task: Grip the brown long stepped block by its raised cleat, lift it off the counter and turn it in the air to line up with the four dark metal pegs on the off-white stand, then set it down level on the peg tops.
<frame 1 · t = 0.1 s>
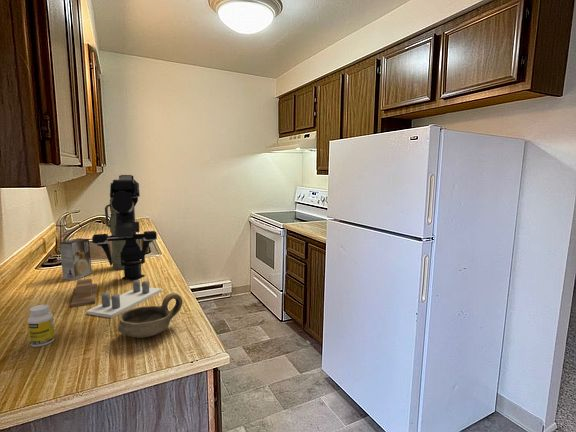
hand: (127, 263, 106), 15 cm above the counter, tool pointing down, fingers open, 9 cm apart
supplement bottle: (42, 342, 87), on the counter
peg stand: (127, 301, 114), on the counter
thermos: (122, 267, 154), on the counter
coffee box: (77, 276, 140), on the counter
brown long stepped block: (85, 296, 119), on the counter
bowl: (152, 332, 93), on the counter
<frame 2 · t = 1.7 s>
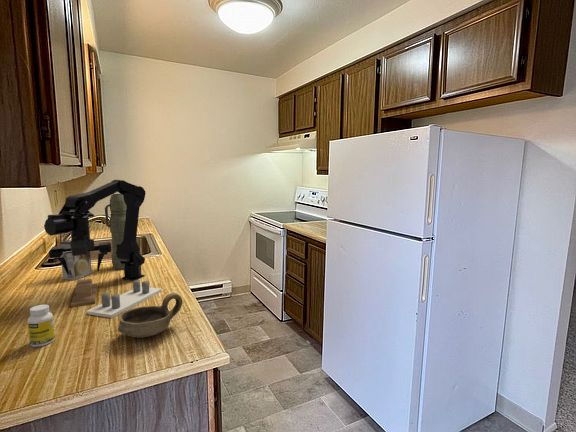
hand: (83, 272, 118), 9 cm above the counter, tool pointing down, fingers open, 9 cm apart
nothing on the counter moved.
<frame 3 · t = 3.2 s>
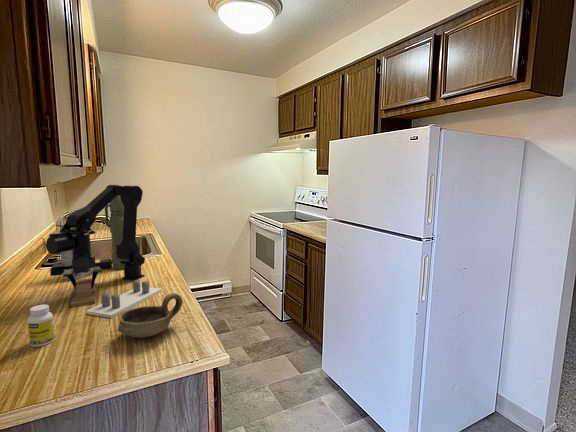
hand: (84, 289, 119), 2 cm above the counter, tool pointing down, fingers closed on brown long stepped block, 4 cm apart
brown long stepped block: (85, 296, 119), on the counter, touching gripper
everything else where it was.
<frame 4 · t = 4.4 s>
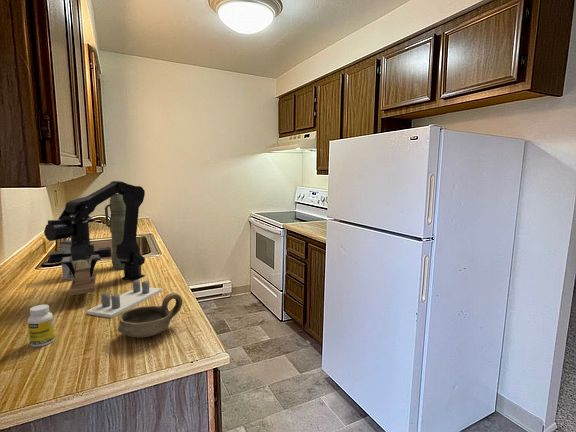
hand: (83, 277, 118), 7 cm above the counter, tool pointing down, fingers closed on brown long stepped block, 4 cm apart
brown long stepped block: (84, 284, 118), point 4 cm above the counter, touching gripper
everything else where it was.
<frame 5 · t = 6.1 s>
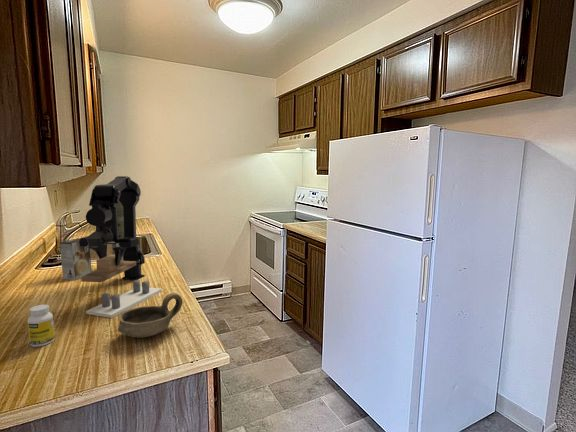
hand: (110, 265, 114), 13 cm above the counter, tool pointing down, fingers closed on brown long stepped block, 4 cm apart
brown long stepped block: (111, 272, 114), point 10 cm above the counter, touching gripper
everything else where it was.
when the fingers open (8 cm above the counter, at t = 7.9 s): brown long stepped block stays where it is, resting on peg stand.
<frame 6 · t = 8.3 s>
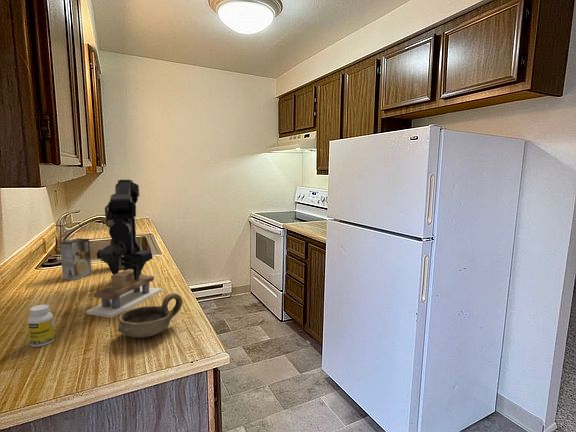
hand: (126, 278, 113), 8 cm above the counter, tool pointing down, fingers open, 8 cm apart
brown long stepped block: (126, 288, 113), point 5 cm above the counter, touching peg stand
everything else where it was.
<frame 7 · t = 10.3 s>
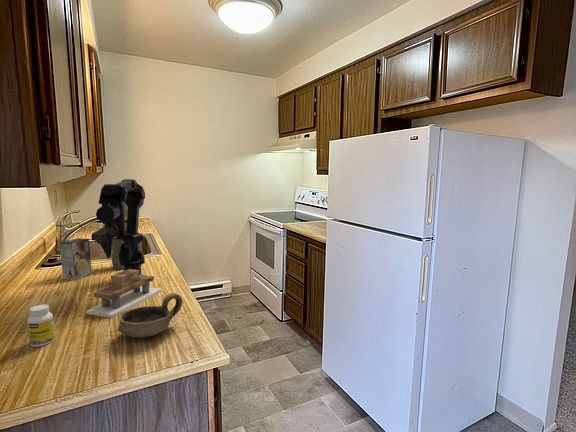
hand: (118, 259, 122), 13 cm above the counter, tool pointing down, fingers open, 9 cm apart
nothing on the counter moved.
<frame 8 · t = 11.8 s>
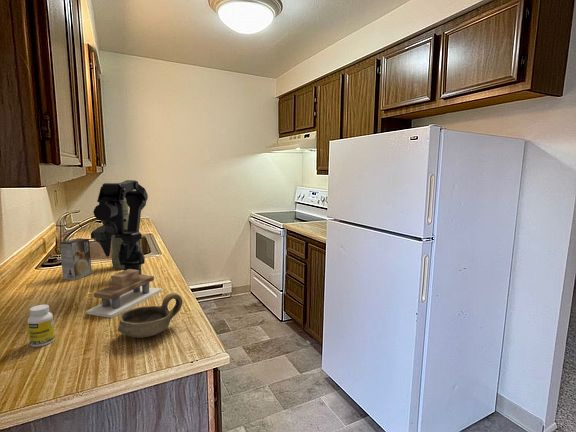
hand: (117, 257, 123), 13 cm above the counter, tool pointing down, fingers open, 9 cm apart
nothing on the counter moved.
at the end: brown long stepped block 0.1 cm off-centre on the peg stand, point 5.0 cm above the peg stand's base; brown long stepped block tilted 0°; the gripper is holding nothing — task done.
